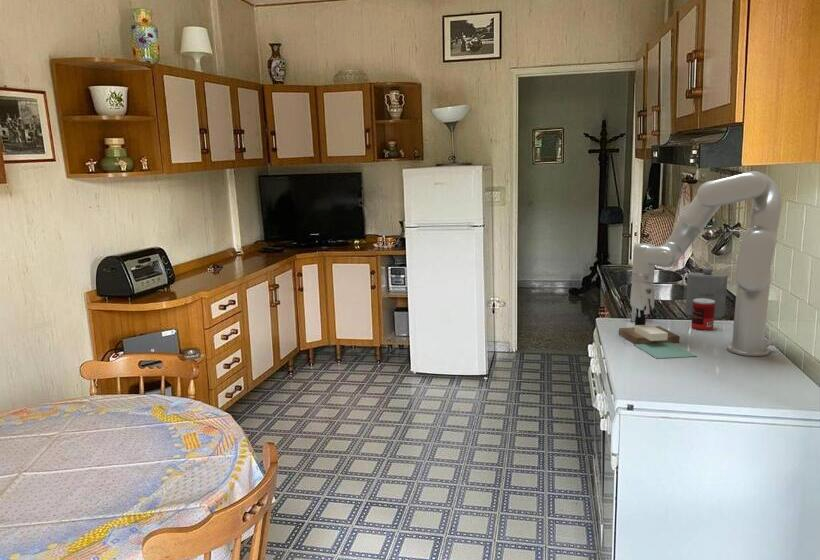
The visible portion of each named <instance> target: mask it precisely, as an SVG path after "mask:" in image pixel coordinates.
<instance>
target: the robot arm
mask: <svg viewBox="0 0 820 560" xmlns="http://www.w3.org/2000/svg"><path fill="white" fill-rule="evenodd" d="M748 200H751V210H750V214H749V220H748V225H747V230H746V232H745V234H744V235H743V236H742V239H741V241H740V246H739V252H738V257H737V262H736V268H735V274H734V280H735V282H736V283H735V284H737V286H736V295H735V304H734V305H735V307H734V316H733V317H734V318H733V328H732V329H733V331H732V341H731V342H729V343H728V344H727V345H726V351H729V352H730V353H733V354H736V355H741V356H746V357H747V356H749V357H761V356H762V357H764V356H767V355H769V353H770V350H769V348H768V347H770V346H771V347H772V346H775V347H776V346H778V344H779V342H778V340H777V339H769V338H766V327H767V320H768V319H767V318H768V308H769V307H768V306H769V298H770V297H769V296H770V290H771V289H770V288H771V281H772V280H771V279H772V270H771V269H772V263H773V258H774V254H775V248H776V246H777V237H778V231H779V230H778V229H779V224H780V219H781V213H782V206H783V205H782V204H783V199H782V192H781V189H780V188H779V185H778V184H777V183H776V181H774V180H773V178H771V177H770V176H768V175H766V174H765V173H762V172H761V171H759V170H758V171H756V170H752V171H747V172H744V173H740V174H735V175H732V176H728V177H724V178H719V179H715V180H714V179H713V180H708V181H706V182H703V183H702V184H701V185H700V186H699V188H698V189H697V192H696V195H695V196H694V198H693V199H692V200H691V202H690V203H688V206H687V207H686V208H685V209H684V211H683V212H682V213H681V215H680V216H679V218H678V223H677V225H676V227H675V228H674V230H673V232H672V233H671V234H670V235H669V237H668V238H667V240H666V241H665V242H664V243H663V244H662V245H659V246H658V245H656V246H655V245H654V244H652V243H642V242H640V243H636V244H635V245H634V246H633V251H632V270H631V287H630V297H629V298H630V301H629V302H630V303H629V304H630V306H631V307H632V306H633V308H634V309H635V322H634V326H635V325H646V319H647V318H646V316H647V314H648V315H650V311H653V310H655V296H656V295H655V284H654V283H655V268H656V267H655V266H657V267H662V268H669V267H671V266H673V265H674V264H676V263H677V262H678V261H679V260H680V259H681V258H682V257H683V255H684V254H685V253H686V251H687V250H688V248H689V247H690V246H691V245H692V244H693V242H694V241H695V239H696V238H697V237H698V236H699V235H700V234H701V233H702V231H703V230H704V229H705V228H706V226H707V225H708V223H709V222H710V221H711V219H712V218H713V217H714V216H715V214H716V213H717V212H718V210H719V209H720V208H721V207H722V206H725V205H730V204H734V203H735V204H736V203H739V202H742V201H743V202H744V201H748Z"/></svg>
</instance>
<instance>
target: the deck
mask: <svg viewBox="0 0 820 560" xmlns="http://www.w3.org/2000/svg"><path fill="white" fill-rule="evenodd" d="M653 326H654V325H653ZM654 327H656V328H658V329H660V330H662V331H664V332H667V333H668V337H667V340H659V341H650V340H648V339H646V338H645V337H643V336H641V335H639V334H637V333H635V332H634V326H633V327H619V328H618V335H619V336H620V335H621V337H622V338H623V339H625V338H626V340H627V341H629V342H630V343H632V344H633V345H634V344H651V343H673V344H680V338H681V336H680V335H679V334H676V333H674V332H672V331H670V330H668V329H666V328H665V327H662V326H660V325H658V326H656V325H655V326H654Z"/></svg>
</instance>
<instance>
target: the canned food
mask: <svg viewBox="0 0 820 560" xmlns="http://www.w3.org/2000/svg"><path fill="white" fill-rule="evenodd" d="M714 312H715V301H714V300H711V299H704V298H698V299H694V300H693V310H692V316H691V328H692V329H693V330H695V329H696V331H700V330H710V331H712V330H713V328H714V323H715V318H714Z"/></svg>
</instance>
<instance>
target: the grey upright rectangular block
mask: <svg viewBox="0 0 820 560" xmlns="http://www.w3.org/2000/svg"><path fill="white" fill-rule="evenodd" d="M713 271H714V270H713V268H711V267H705V268H702V272H689V273H687V278H686V279H687V280H686V291H685V309H684V315H685V316H687V317H692V310H693V300H694V299H698V298H704V299H711V300H714V301H715V312H714V319H723V318H725V315H726V314H725V313H726V312H725V311H726V299H727V288H728V287H727V286H728V275H727V274H726V273H725V274H724V273H713ZM722 317H723V318H722Z"/></svg>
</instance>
